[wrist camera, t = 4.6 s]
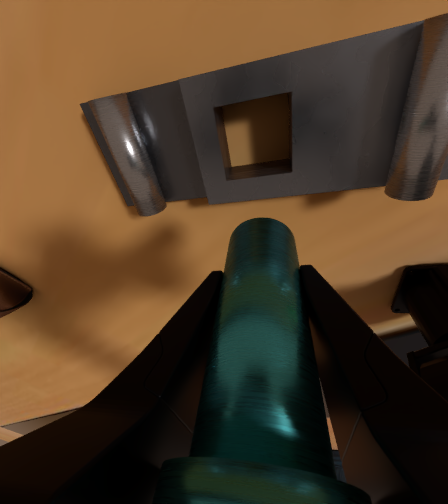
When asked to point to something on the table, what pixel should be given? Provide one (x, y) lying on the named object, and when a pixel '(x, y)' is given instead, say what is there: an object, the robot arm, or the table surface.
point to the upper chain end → (337, 116)
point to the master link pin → (259, 390)
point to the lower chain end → (154, 146)
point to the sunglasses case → (12, 293)
